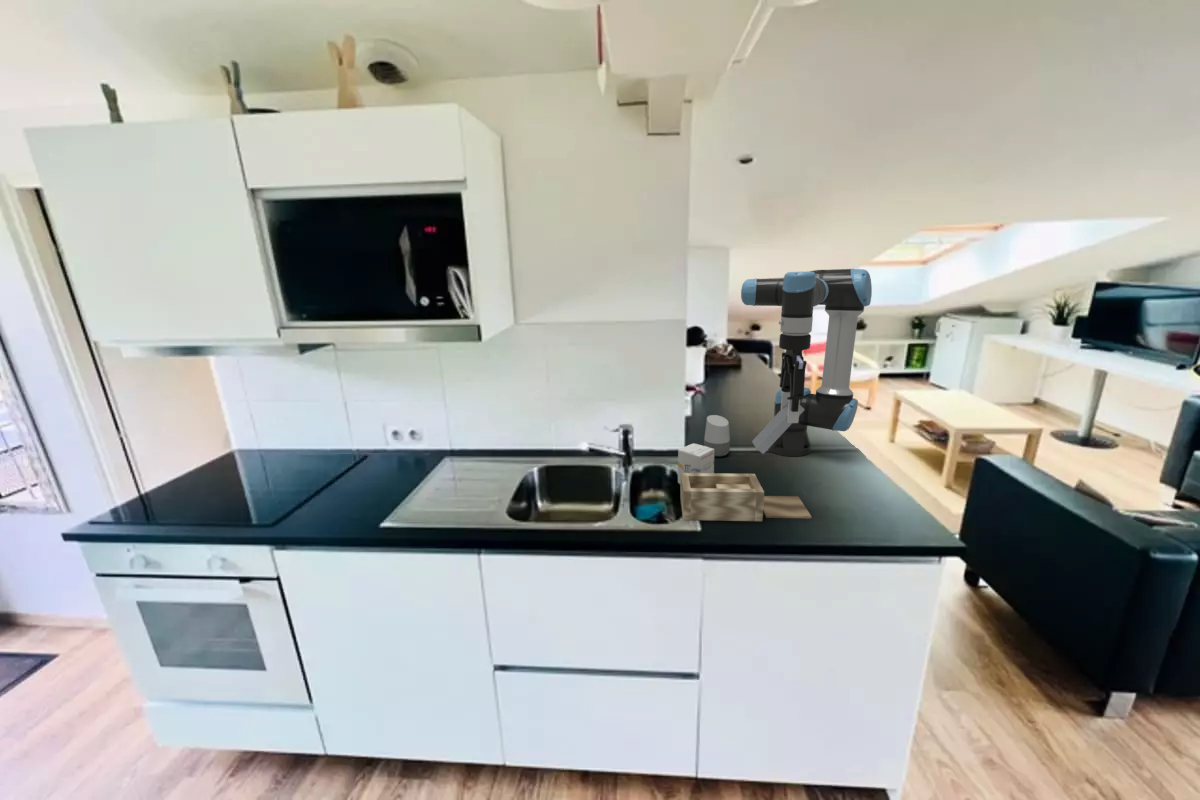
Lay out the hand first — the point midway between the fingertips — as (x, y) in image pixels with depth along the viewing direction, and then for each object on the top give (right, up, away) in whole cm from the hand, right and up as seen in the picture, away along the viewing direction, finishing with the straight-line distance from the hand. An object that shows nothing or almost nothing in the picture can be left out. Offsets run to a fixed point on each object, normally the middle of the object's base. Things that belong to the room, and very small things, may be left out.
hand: (789, 418), depth 131 cm
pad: (+1, -26, +7) cm, 27 cm away
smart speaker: (-8, -15, +48) cm, 51 cm away
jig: (-17, -26, +7) cm, 32 cm away
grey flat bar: (-2, -3, +1) cm, 4 cm away
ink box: (-20, -22, +25) cm, 39 cm away
